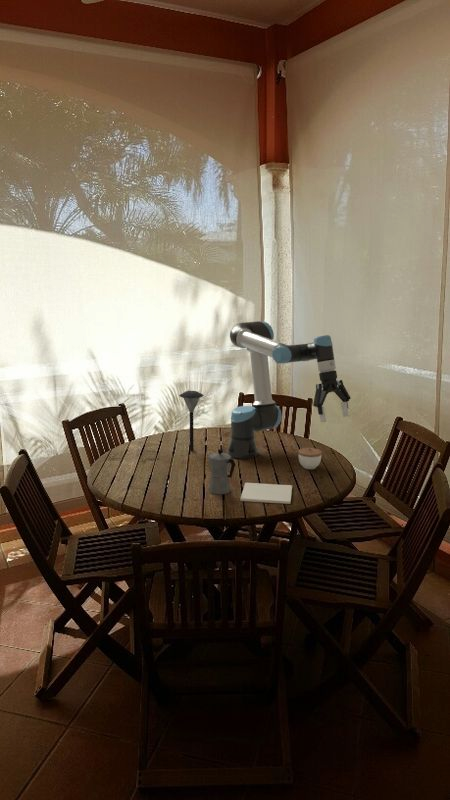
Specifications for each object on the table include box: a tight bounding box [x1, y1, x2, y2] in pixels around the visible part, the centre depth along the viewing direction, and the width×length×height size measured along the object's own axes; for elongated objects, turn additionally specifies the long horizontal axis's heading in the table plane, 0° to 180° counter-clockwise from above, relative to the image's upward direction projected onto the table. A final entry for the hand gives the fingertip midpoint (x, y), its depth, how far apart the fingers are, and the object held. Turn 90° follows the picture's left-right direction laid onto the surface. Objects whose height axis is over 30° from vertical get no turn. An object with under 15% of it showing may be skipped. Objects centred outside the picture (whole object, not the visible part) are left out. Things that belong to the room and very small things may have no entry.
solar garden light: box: [178, 390, 205, 452], centre depth 310 cm, size 12×12×30 cm
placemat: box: [239, 482, 293, 505], centre depth 256 cm, size 18×20×1 cm
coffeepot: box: [208, 448, 236, 495], centre depth 257 cm, size 15×9×18 cm, turn 43°
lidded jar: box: [298, 447, 323, 470], centre depth 289 cm, size 11×11×9 cm
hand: (334, 419), depth 271 cm, fingers open, 13 cm apart
